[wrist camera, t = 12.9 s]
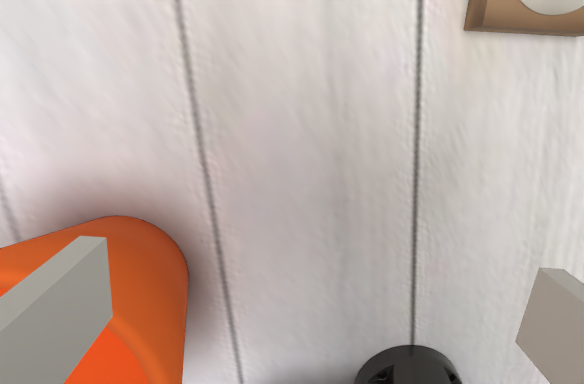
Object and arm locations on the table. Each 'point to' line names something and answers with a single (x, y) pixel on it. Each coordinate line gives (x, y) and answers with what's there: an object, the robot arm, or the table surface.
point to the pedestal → (527, 16)
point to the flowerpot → (122, 299)
